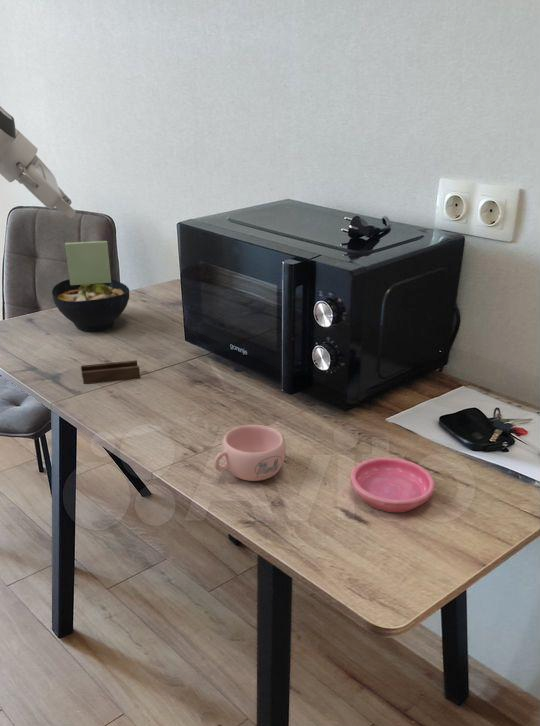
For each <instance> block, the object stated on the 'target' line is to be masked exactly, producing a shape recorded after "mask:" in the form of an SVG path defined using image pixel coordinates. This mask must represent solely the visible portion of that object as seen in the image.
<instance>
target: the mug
mask: <svg viewBox="0 0 540 726" xmlns="http://www.w3.org/2000/svg"><path fill="white" fill-rule="evenodd" d="M286 447H287V445H286V440H285V437H284V435H283V434H282V433H281V432H280V431H279V430H277V429H275V428H273V427H270V426H266V425H261V424H245V425H240V426H237V427H234V428H232V429H230V430H229V431H227V432H226V434H225V435H224V436H223V438H222V441H221V451H220V452H218V453H217V454H216V455H215V457H214V461H213V466H214V469H215V470H216V471H217V472H225V471H226V470H228V471H229V473H231V475H233V476H234V477H236V478H238V479H240V480H244V481H250V482H257V481H258V482H259V481H264V480H267V479H270V478H272V477H273V476H275V475H276V474H277V473H278V472H279V471H280V469H281V468H282V466H283V464H284V462H285V458H286V452H287V448H286ZM221 459H222V460H223V462H224V464H223V465H222V466H220V461H221Z"/></svg>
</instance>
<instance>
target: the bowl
mask: <svg viewBox="0 0 540 726" xmlns="http://www.w3.org/2000/svg"><path fill="white" fill-rule="evenodd" d="M51 294H52V300H53V302H54V305H55V306H56V308H57V309H58V311H59V312H60V313H61V314H62V315H63V316H64V317H65V318H66V319H67V320H69V321H70V322H72V323H73V324H74V326H75V327H76V329H78V330H79V331H82V332H89V333H96V332H97V333H98V332H104V331H107V330H110V329H111V328H113V327H114V324H115V322H116V320H117V319H118V318H119V317H120V316H121V315H122V314H123V312H124V311H125V309H126V308H127V306H128V303H129V300H130V288H129V287H128V286H127V285H126V284H125V283H123V282H120V281H119V280H114V279H112V278H111V283H98V284H83V285H70V280H69V278H68V279H65V280H62V281H60V282H58V283H57V284H56V285H54V286H53V287H52V290H51Z"/></svg>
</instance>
